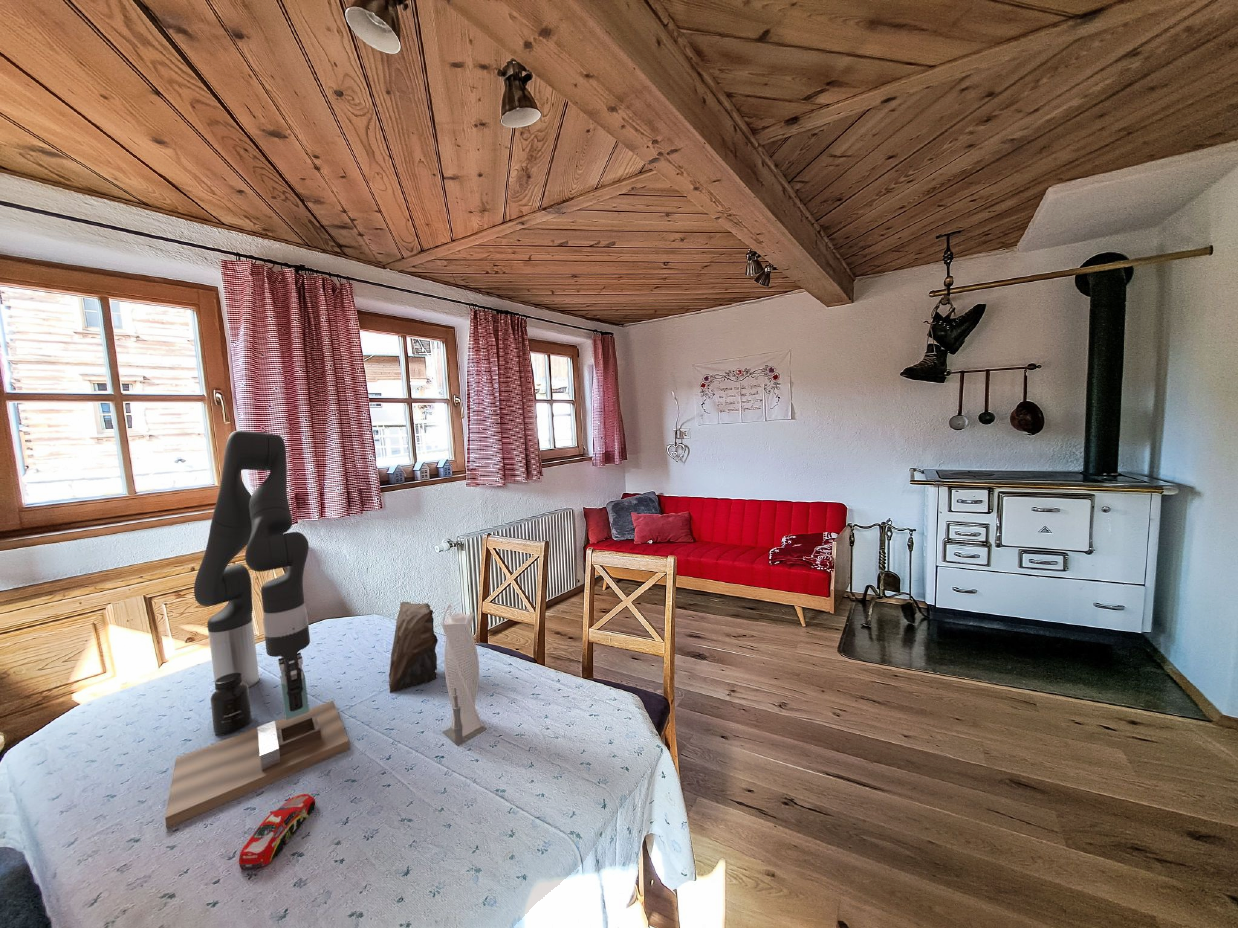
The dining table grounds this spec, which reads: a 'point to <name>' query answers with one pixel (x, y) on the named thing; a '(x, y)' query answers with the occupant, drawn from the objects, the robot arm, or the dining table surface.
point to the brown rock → (413, 648)
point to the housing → (251, 762)
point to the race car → (276, 832)
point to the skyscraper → (461, 677)
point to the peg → (286, 700)
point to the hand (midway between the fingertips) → (295, 704)
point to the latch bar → (268, 745)
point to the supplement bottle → (230, 704)
